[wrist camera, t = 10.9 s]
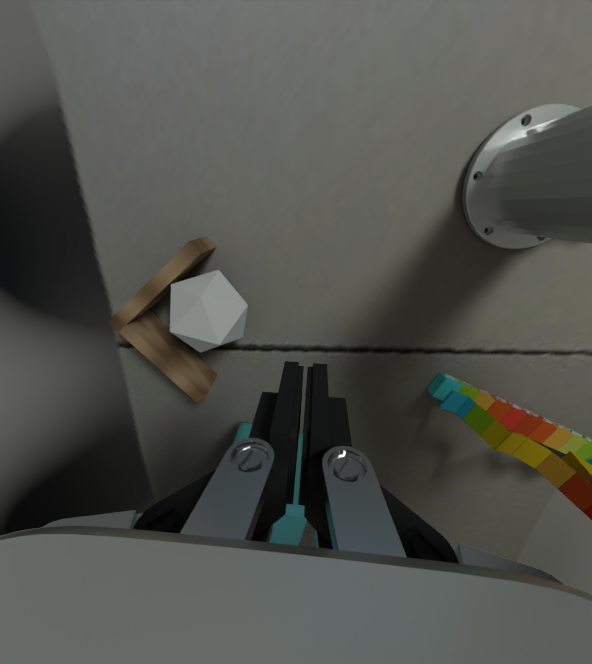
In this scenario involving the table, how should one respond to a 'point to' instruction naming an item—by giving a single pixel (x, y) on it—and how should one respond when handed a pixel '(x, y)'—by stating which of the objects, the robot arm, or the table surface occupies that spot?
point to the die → (207, 311)
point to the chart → (523, 437)
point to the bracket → (156, 336)
